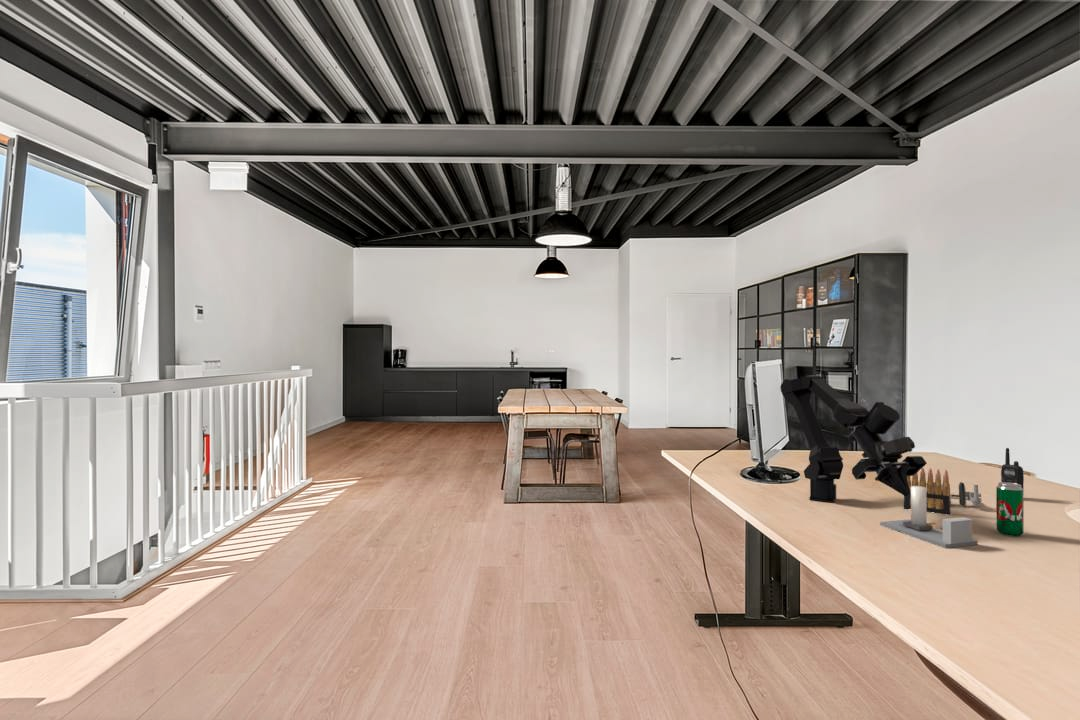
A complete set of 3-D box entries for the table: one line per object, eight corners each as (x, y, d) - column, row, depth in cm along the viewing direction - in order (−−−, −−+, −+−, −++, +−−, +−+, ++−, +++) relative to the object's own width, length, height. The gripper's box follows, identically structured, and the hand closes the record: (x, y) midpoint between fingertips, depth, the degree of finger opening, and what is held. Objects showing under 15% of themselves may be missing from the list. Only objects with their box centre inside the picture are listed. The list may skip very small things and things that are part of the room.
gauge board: (880, 525, 145) (880, 502, 145) (909, 522, 147) (909, 500, 147) (945, 548, 127) (945, 522, 127) (977, 544, 129) (977, 519, 129)
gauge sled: (903, 525, 141) (903, 485, 141) (926, 522, 143) (926, 483, 143) (919, 530, 137) (919, 489, 137) (942, 528, 138) (942, 487, 138)
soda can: (1017, 531, 139) (1017, 482, 139) (1027, 537, 134) (1027, 486, 134) (992, 529, 140) (992, 481, 140) (1001, 535, 136) (1001, 485, 136)
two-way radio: (998, 496, 173) (998, 447, 173) (1006, 495, 174) (1006, 446, 174) (1020, 501, 168) (1020, 450, 167) (1028, 499, 169) (1028, 449, 169)
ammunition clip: (950, 513, 155) (950, 469, 155) (950, 515, 154) (950, 470, 154) (904, 507, 161) (903, 465, 161) (903, 509, 160) (903, 466, 160)
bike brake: (988, 509, 156) (971, 504, 174) (986, 484, 157) (970, 481, 175) (928, 505, 162) (918, 500, 180) (927, 480, 163) (917, 478, 181)
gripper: (860, 427, 145) (896, 479, 134) (920, 425, 149) (960, 475, 138) (837, 453, 152) (870, 504, 142) (895, 450, 157) (931, 500, 146)
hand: (908, 495), depth 142 cm, fingers closed
